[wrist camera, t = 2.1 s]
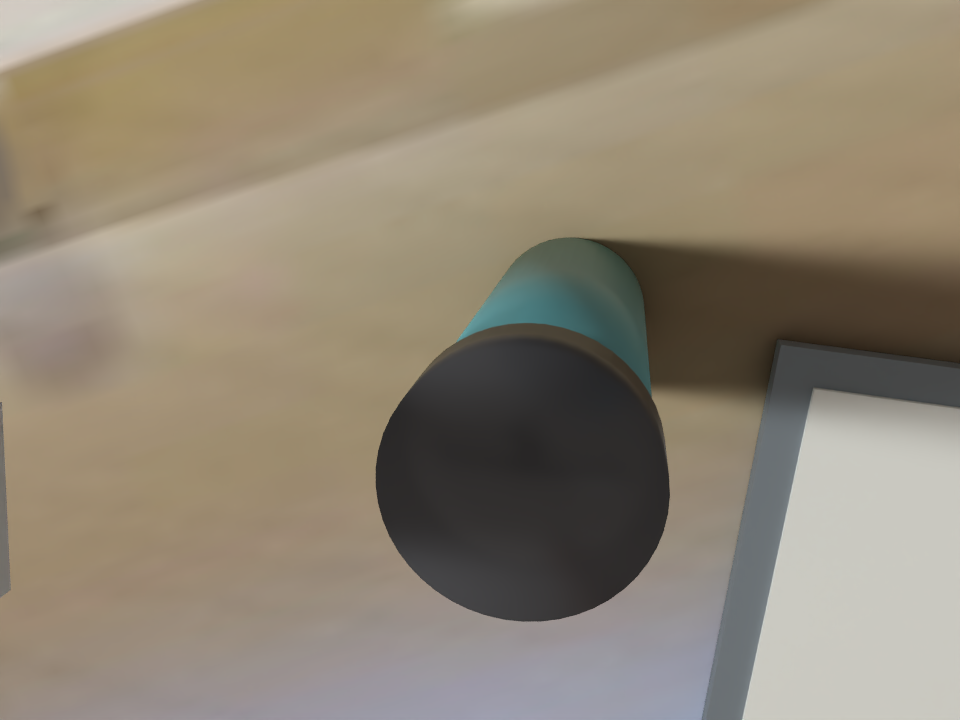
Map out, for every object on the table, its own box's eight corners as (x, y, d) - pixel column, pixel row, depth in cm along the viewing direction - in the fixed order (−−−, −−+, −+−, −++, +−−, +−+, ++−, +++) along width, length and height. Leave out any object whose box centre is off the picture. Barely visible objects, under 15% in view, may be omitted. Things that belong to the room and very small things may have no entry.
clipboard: (777, 339, 24) (787, 355, 23) (1230, 399, 23) (1273, 419, 21) (669, 881, 29) (671, 924, 28) (1034, 956, 28) (1057, 1005, 26)
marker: (499, 222, 24) (386, 328, 13) (661, 242, 24) (693, 371, 12) (483, 376, 26) (366, 595, 14) (637, 397, 25) (645, 644, 14)
